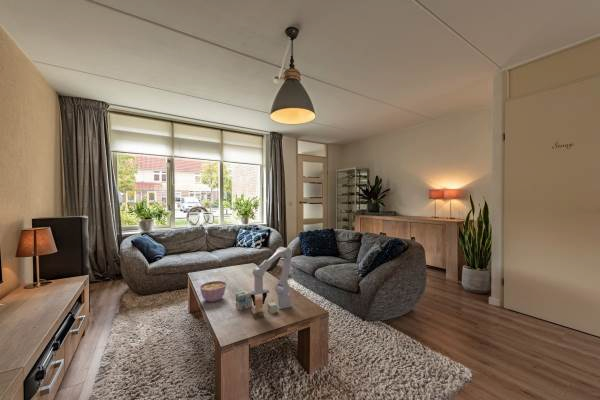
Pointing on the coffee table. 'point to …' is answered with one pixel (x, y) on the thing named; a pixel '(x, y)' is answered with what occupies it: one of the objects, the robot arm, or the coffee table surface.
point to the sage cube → (272, 307)
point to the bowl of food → (213, 290)
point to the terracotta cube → (258, 302)
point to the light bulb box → (243, 300)
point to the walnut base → (257, 313)
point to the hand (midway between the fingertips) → (258, 304)
